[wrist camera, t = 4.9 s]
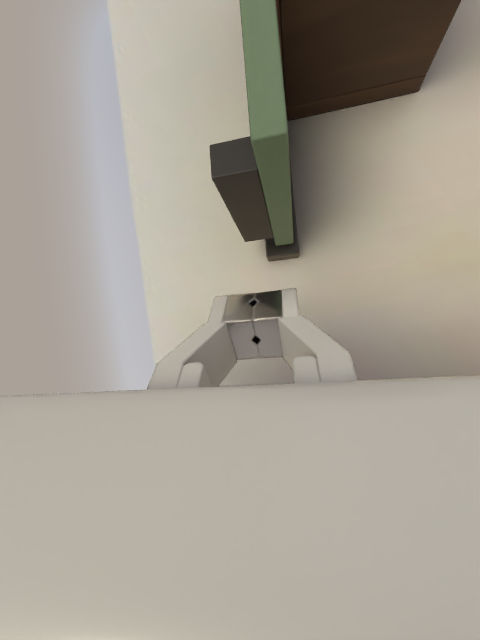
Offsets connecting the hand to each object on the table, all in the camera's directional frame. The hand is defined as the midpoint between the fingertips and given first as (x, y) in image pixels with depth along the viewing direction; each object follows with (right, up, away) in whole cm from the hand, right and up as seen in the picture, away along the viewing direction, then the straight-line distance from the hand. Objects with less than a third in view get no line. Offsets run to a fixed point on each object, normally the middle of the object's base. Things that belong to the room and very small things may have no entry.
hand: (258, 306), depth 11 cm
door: (+1, +10, +9) cm, 14 cm away
